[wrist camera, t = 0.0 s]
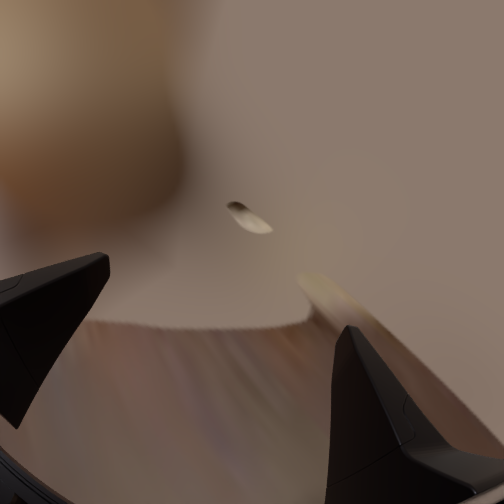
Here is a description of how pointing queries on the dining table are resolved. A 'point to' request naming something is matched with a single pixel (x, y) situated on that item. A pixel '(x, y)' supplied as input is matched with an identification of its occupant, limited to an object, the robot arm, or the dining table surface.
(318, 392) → the dining table surface
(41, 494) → the robot arm
